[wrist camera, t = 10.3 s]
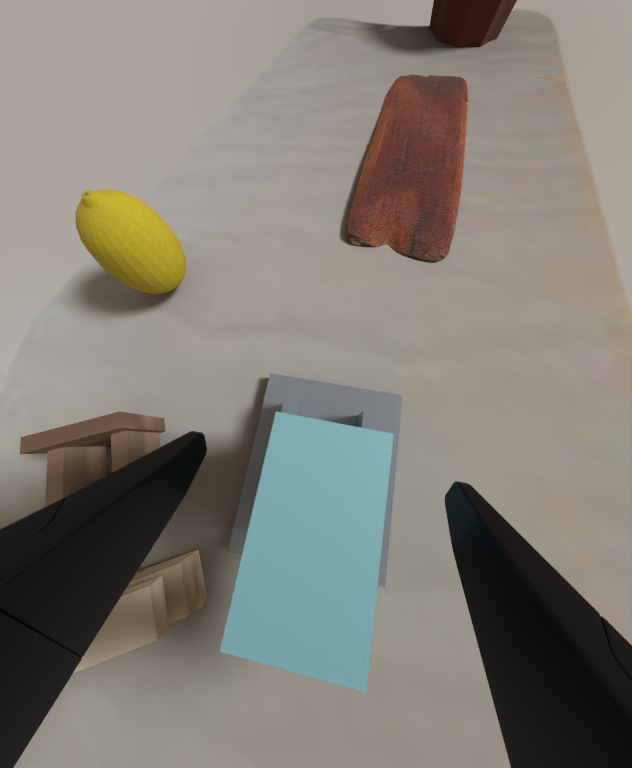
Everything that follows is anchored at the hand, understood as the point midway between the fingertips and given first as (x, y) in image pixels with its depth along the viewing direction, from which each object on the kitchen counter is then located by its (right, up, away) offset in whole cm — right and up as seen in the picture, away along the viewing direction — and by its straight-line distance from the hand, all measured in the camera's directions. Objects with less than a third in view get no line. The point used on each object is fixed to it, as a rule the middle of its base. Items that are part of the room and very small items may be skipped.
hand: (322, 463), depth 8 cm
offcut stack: (-12, -11, +7) cm, 18 cm away
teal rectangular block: (0, -3, +7) cm, 8 cm away
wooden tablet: (+10, +27, +17) cm, 33 cm away
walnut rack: (-14, -4, +9) cm, 17 cm away
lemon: (-13, +12, +13) cm, 22 cm away
